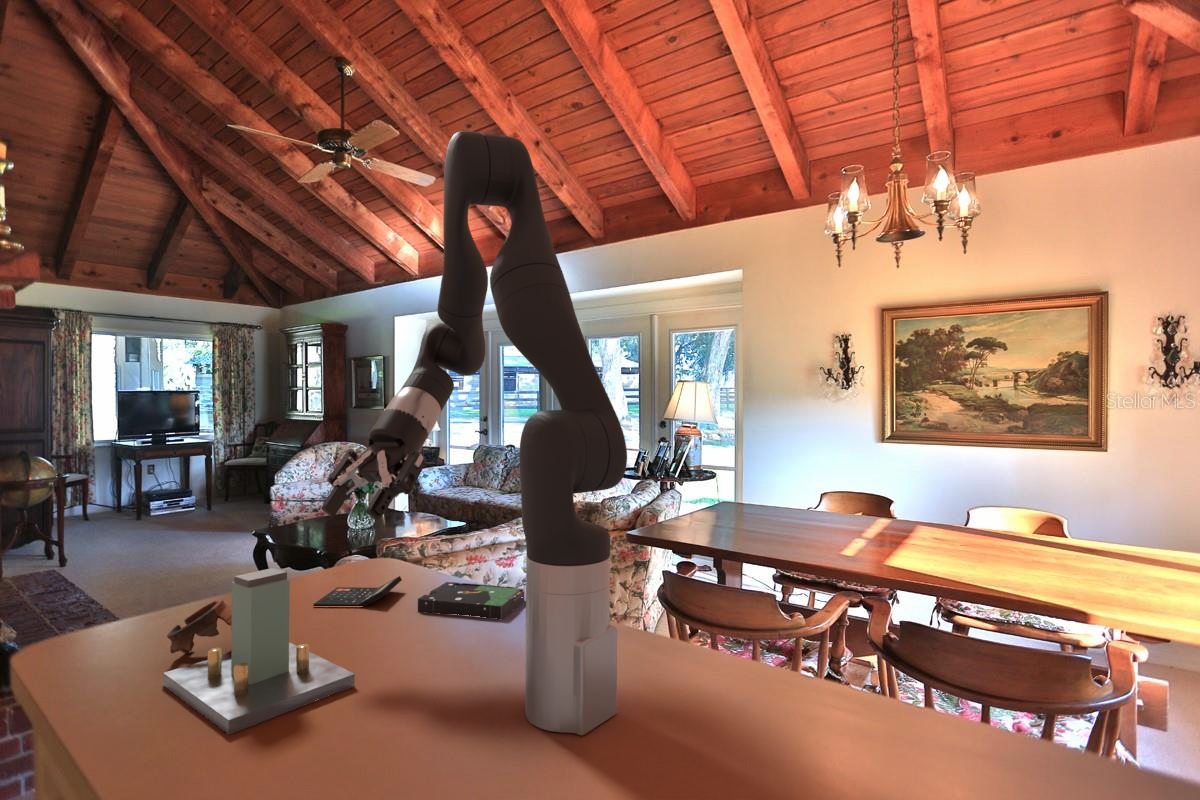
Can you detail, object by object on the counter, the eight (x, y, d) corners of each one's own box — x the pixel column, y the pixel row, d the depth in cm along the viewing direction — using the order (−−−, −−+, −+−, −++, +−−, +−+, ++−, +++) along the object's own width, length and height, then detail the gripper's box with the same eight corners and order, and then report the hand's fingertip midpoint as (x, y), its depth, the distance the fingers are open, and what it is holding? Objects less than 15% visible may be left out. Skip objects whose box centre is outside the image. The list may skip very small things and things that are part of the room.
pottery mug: (235, 675, 80) (197, 622, 78) (180, 700, 82) (141, 650, 80) (290, 619, 91) (257, 572, 90) (240, 642, 93) (207, 597, 92)
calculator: (337, 592, 114) (337, 575, 114) (401, 592, 114) (402, 575, 114) (313, 609, 104) (313, 590, 104) (383, 609, 104) (384, 591, 104)
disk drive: (416, 616, 102) (502, 623, 99) (416, 599, 102) (502, 605, 99) (445, 597, 112) (525, 602, 109) (445, 581, 112) (525, 586, 109)
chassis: (354, 686, 76) (354, 648, 76) (228, 734, 64) (228, 690, 64) (281, 649, 87) (281, 616, 87) (163, 685, 75) (163, 647, 76)
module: (289, 670, 76) (290, 572, 76) (250, 684, 72) (251, 581, 73) (269, 661, 79) (270, 567, 79) (230, 675, 75) (231, 575, 75)
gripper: (357, 408, 96) (295, 496, 86) (429, 405, 90) (371, 500, 80) (385, 440, 101) (330, 527, 91) (455, 439, 95) (404, 533, 85)
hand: (349, 514), depth 86 cm, fingers open, 8 cm apart
